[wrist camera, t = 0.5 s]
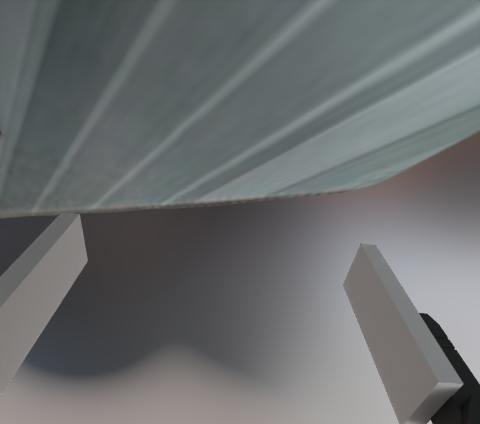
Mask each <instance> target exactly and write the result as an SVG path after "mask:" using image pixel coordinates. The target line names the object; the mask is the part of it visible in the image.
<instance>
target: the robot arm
mask: <svg viewBox="0 0 480 424" xmlns="http://www.w3.org/2000/svg"><path fill="white" fill-rule="evenodd" d="M87 261H88V260H87V255H86V249H85V243H84V237H83V231H82V226H81V220H80V214H72V213H63V212H62V213H61V214H60V215H59V216H58V217H57V218H56V219H55V220H54V221H53V222H52V223H51V224H50V226H49V227H48V228H47V229H46V230H45V231H44V232H43V233H42V234H41V235H40V236H39V237H38V238H37V239H36V240H35V241H34V242H33V243H32V244H31V245H30V247H29V248H28V249H27V250H26V251H25V252H24V253H23V254H22V255H21V256H20V257H19V258H18V259H17V260H16V261H15V262H14V263H13V264H12V265H11V266H10V268H9V269H7V271H6V272H5V273H4V274H3V275H2V276H1V277H0V396H1V394H2V393H3V391H4V390H5V388H6V387H7V385H8V383H9V382H10V380H11V379H12V377H13V376H14V374H15V373H16V371H17V370H18V368H19V367H20V365H21V363H22V362H23V360H24V359H25V357H26V356H27V354H28V353H29V351H30V349H31V348H32V346H33V345H34V343H35V342H36V340H37V339H38V337H39V335H40V334H41V332H42V331H43V329H44V328H45V326H46V325H47V323H48V322H49V320H50V318H51V317H52V315H53V314H54V312H55V311H56V309H57V308H58V306H59V305H60V303H61V301H62V300H63V298H64V297H65V295H66V294H67V292H68V291H69V289H70V288H71V286H72V284H73V283H74V281H75V280H76V278H77V277H78V275H79V274H80V272H81V271H82V269H83V267H84V266H85V264H86V263H87ZM343 286H344V289H345V291H346V293H347V296H348V298H349V301H350V303H351V306H352V308H353V310H354V313H355V316H356V318H357V320H358V323H359V325H360V328H361V330H362V333H363V335H364V338H365V340H366V343H367V345H368V347H369V350H370V352H371V355H372V357H373V359H374V362H375V365H376V367H377V370H378V372H379V375H380V377H381V379H382V382H383V384H384V387H385V389H386V392H387V394H388V397H389V399H390V402H391V404H392V406H393V409H394V411H395V414H396V416H397V419H398V421H399V424H427V423H428V422H429V421H430V420H431V421H432V423H433V424H480V384H479V383H478V381H477V380H476V378H475V377H474V375H473V374H472V372H471V371H470V370H469V368H468V367H467V365H466V364H465V362H464V361H463V359H462V358H461V356H460V355H459V353H458V352H457V350H455V349H454V348H455V347H454V346H453V344H452V343H451V342H450V340H448V337H447V335H446V334H445V332H444V331H443V330H442V328H441V327H440V325H439V324H438V323H437V322H436V321H434V320H433V319H432V318H431V317H430V316H429V315H428V314H424V313H418V311H417V309H416V308H415V306H414V305H413V303H412V302H411V300H410V298H409V297H408V295H407V294H406V292H405V290H404V289H403V287H402V286H401V284H400V283H399V281H398V279H397V278H396V276H395V275H394V273H393V271H392V270H391V268H390V267H389V265H388V264H387V262H386V260H385V259H384V257H383V256H382V254H381V253H380V251H379V249H378V248H377V246H376V245H367V244H360V247H359V249H358V251H357V254H356V256H355V258H354V261H353V263H352V265H351V268H350V270H349V272H348V275H347V277H346V280H345V282H344V284H343Z"/></svg>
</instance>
